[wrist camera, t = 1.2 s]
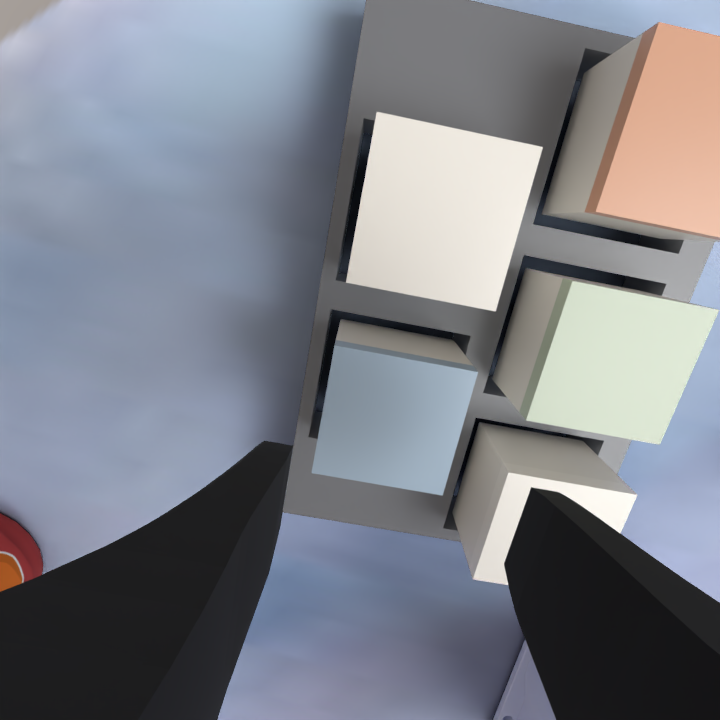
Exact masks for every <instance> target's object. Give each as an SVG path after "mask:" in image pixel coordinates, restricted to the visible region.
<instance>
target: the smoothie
mask: <svg viewBox="0 0 720 720" xmlns="http://www.w3.org/2000/svg"><path fill="white" fill-rule="evenodd" d="M42 571H43V561H42V557H41V553H40V550H39V548H38V546H37V545H36V543H35V542H34V540H33V538H32V537H31V535H30V534H29V533H28V532H27V531H25V530H24V529H23V528H22V527H21V526H20V525H19V524H18V523H17V522H15V521H14V520H12V519H10V518H8V517H6V516H4V515H3V514H1V513H0V592H1V591H3V590H6V589H8V588H11V587H13V586H16V585H18V584H21V583H24V582H26V581H29V580H31V579H33V578H36V577H38V576H41V575H42Z"/></svg>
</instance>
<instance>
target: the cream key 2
mask: <svg viewBox="0 0 720 720" xmlns="http://www.w3.org/2000/svg"><path fill="white" fill-rule="evenodd" d="M531 487H533V488H538V489H544V490H550V491H556V492H559V493H561V494H563V495H565V496H567V497H568V498H570V499H572V500H573V501H575V502H576V503H578V504H579V505H581V506H582V507H584V508H585V509H587V510H588V511H589V512H591V513H592V514H594V515H595V516H597V517H598V518H599V519H601V520H602V521H604V522H605V523H606V524H608V525H609V526H610V527H612V528H613V529H615V530H616V531H617V532H619V533H621V531H622V529H623V526H624V524H625V522H626V520H627V517H628V515H629V513H630V511H631V508H632V506H633V504H634V502H635V499H636V497H637V494H636V493H635V492H634V491H633V490H632V489H631V488H630V487H629V486H628V485H627V484H626V483H625V482H624V481H623V480H622V479H621V478H620V477H619V476H618V475H617V474H616V473H615V472H614V471H613V470H612V469H611V468H610V467H609V466H608V465H607V464H606V463H605V462H604V461H603V460H602V459H601V458H600V457H599V456H598V455H597V454H596V453H595V452H594V451H593V450H592V449H591V448H590V447H589V446H588V445H587V444H586V443H585V442H584V441H581V440H576V439H570V438H565V437H559V436H554V435H548V434H542V433H537V432H531V431H526V430H520V429H515V428H509V427H504V426H498V425H493V424H487V423H481V422H479V425H478V428H477V432H476V435H475V438H474V442H473V445H472V448H471V452H470V455H469V458H468V462H467V465H466V468H465V472H464V475H463V478H462V482H461V485H460V488H459V492H458V495H457V498H456V502H455V505H454V508H453V512H452V513H453V516H454V520H455V523H456V526H457V529H458V533H459V536H460V539H461V542H462V546H463V549H464V552H465V556H466V559H467V562H468V565H469V569H470V572H471V575H472V578H473V580H479V581H486V582H492V583H498V584H504V585H508V581H507V576H506V572H505V567H504V562H505V559H506V557H507V554H508V551H509V548H510V545H511V542H512V540H513V537H514V534H515V531H516V528H517V526H518V523H519V520H520V517H521V514H522V512H523V509H524V506H525V503H526V500H527V498H528V495H529V492H530V489H531Z"/></svg>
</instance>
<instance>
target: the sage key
mask: <svg viewBox="0 0 720 720" xmlns="http://www.w3.org/2000/svg"><path fill="white" fill-rule="evenodd" d="M718 312H719V310H717V309H713V308H709V307H705V306H701V305H697V304H693V303H688V302H684V301H680V300H676V299H672V298H668V297H664V296H660V295H656V294H652V293H648V292H644V291H640V290H635V289H630V288H624V287H619V286H614V285H609V284H604V283H599V282H594V281H589V280H584V279H579V278H574V277H569V276H564V275H559V274H554V273H549V272H544V271H539V270H534V269H529V268H525V271H524V275H523V278H522V281H521V285H520V288H519V291H518V295H517V298H516V301H515V305H514V308H513V311H512V315H511V318H510V321H509V325H508V328H507V331H506V335H505V338H504V341H503V345H502V348H501V351H500V355H499V358H498V361H497V365H496V368H495V371H494V375H493V378H492V380H493V381H494V382H495V383H496V385H497V386H498V387H499V388H500V389H501V391H502V392H503V393H504V394H505V396H506V397H507V398H508V399H509V400H510V402H511V403H512V404H513V405H514V406H515V408H516V409H517V410H518V411H519V413H520V414H521V415H522V416H523V417H524V419H525V420H526V421H532V422H537V423H543V424H548V425H554V426H559V427H565V428H570V429H576V430H581V431H587V432H592V433H598V434H604V435H609V436H615V437H620V438H626V439H631V440H637V441H642V442H648V443H653V444H659V445H660V443H661V440H662V438H663V436H664V434H665V431H666V429H667V427H668V425H669V422H670V420H671V418H672V416H673V413H674V411H675V409H676V407H677V404H678V402H679V400H680V397H681V395H682V393H683V391H684V388H685V386H686V384H687V382H688V379H689V377H690V375H691V373H692V370H693V368H694V366H695V364H696V361H697V359H698V357H699V355H700V352H701V350H702V348H703V345H704V343H705V341H706V339H707V336H708V334H709V332H710V330H711V327H712V325H713V323H714V321H715V318H716V316H717V314H718Z"/></svg>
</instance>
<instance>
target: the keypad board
mask: <svg viewBox="0 0 720 720" xmlns="http://www.w3.org/2000/svg"><path fill="white" fill-rule="evenodd" d="M633 39H635V38H632V37H628V36H623V35H619V34H615V33H610V32H606V31H602V30H597V29H593V28H588V27H584V26H580V25H575V24H571V23H567V22H562V21H558V20H554V19H549V18H545V17H540V16H536V15H532V14H527V13H523V12H519V11H514V10H510V9H505V8H501V7H497V6H492V5H488V4H484V3H479V2H475V1H470V0H366V4H365V11H364V17H363V23H362V29H361V35H360V41H359V47H358V54H357V60H356V66H355V72H354V78H353V84H352V90H351V96H350V103H349V109H348V115H347V121H346V127H345V133H344V139H343V145H342V152H341V158H340V164H339V170H338V176H337V182H336V188H335V195H334V201H333V207H332V213H331V219H330V225H329V231H328V237H327V244H326V250H325V256H324V262H323V268H322V274H321V280H320V286H319V293H318V299H317V305H316V311H315V317H314V323H313V329H312V335H311V342H310V348H309V354H308V360H307V366H306V372H305V378H304V385H303V391H302V397H301V403H300V409H299V415H298V421H297V427H296V434H295V440H294V446H293V452H292V458H291V464H290V470H289V476H288V483H287V489H286V495H285V501H284V507H283V512H284V513H290V514H296V515H302V516H308V517H314V518H320V519H326V520H332V521H338V522H344V523H350V524H356V525H362V526H369V527H375V528H381V529H387V530H393V531H399V532H405V533H411V534H417V535H423V536H429V537H435V538H441V539H447V540H453V541H459V542H461V539H460V536H459V533H458V529H457V526H456V523H455V520H454V516H453V513H452V512H453V508H454V505H455V502H456V498H457V497H453V493H454V490H455V486H456V483H457V480H458V476H459V473H460V470H461V466H462V463H463V459H464V456H465V453H466V449H467V446H468V442H469V439H470V436H471V432H472V429H473V426H474V422H475V419H476V418H481V419H486V420H492V421H497V422H503V423H508V424H514V425H520V426H525V427H531V428H536V429H542V430H547V431H553V432H558V433H564V434H568V435H567V437H566V438H570V439H576V440H581V441H584V442H585V443H586V444H587V445H588V446H589V447H590V448H591V449H592V450H593V451H594V452H595V453H596V454H597V455H598V456H599V457H600V458H601V459H602V460H603V461H604V462H605V463H606V464H607V465H608V466H609V467H610V468H611V469H612V470H613V471H614V472H615V473H616V474H618V471H619V469H620V466H621V464H622V462H623V459H624V457H625V455H626V452H627V450H628V447H629V445H630V443H631V439H626V438H620V437H615V436H609V435H604V434H598V433H592V432H587V431H581V430H576V429H570V428H565V427H559V426H554V425H548V424H543V423H537V422H532V421H526V420H525V419H524V417H523V416H522V415H521V414H520V413H519V411H518V410H517V409H516V408H515V406H514V405H513V404H512V403H511V402H510V400H509V399H508V398H507V397H506V396H505V394H504V393H503V392H502V391H501V389H500V388H499V387H498V386H497V385H496V383H495V382H494V381H493V380H492V378H493V376H488V375H489V371H490V368H491V365H492V361H493V358H494V355H495V351H496V348H497V344H498V341H499V338H500V334H501V331H502V328H503V324H504V321H505V317H506V314H507V311H508V307H509V304H510V301H511V297H512V294H513V290H514V287H515V284H516V280H517V277H518V273H519V270H520V267H521V263H522V260H523V257H524V255H525V256H530V257H535V258H540V259H545V260H550V261H555V262H560V263H565V264H570V265H575V266H580V267H585V268H590V269H595V270H600V271H605V272H610V273H615V274H620V275H625V276H626V277H625V280H624V283H623V285H622V287H624V288H630V289H635V290H640V291H644V292H648V293H652V294H656V295H660V296H664V297H668V298H672V299H676V300H680V301H684V302H688V303H689V302H690V299H691V297H692V295H693V292H694V290H695V288H696V285H697V283H698V280H699V278H700V276H701V273H702V271H703V268H704V266H705V264H706V261H707V259H708V257H709V254H710V252H711V249H712V247H713V245H714V242H712V241H694V240H675V239H659V238H654V237H650V236H645V235H641V237H640V239H639V242H638V245H632V244H627V243H622V242H618V241H613V240H608V239H603V238H598V237H593V236H588V235H583V234H578V233H574V232H569V231H564V230H559V229H554V228H549V227H544V226H539V225H534V224H533V223H534V219H535V216H536V213H537V209H538V206H539V203H540V199H541V196H542V192H543V189H544V186H545V182H546V179H547V175H548V172H549V169H550V165H551V162H552V159H553V155H554V152H555V148H556V145H557V142H558V138H559V135H560V132H561V128H562V125H563V121H564V118H565V115H566V111H567V108H568V104H569V101H570V98H571V94H572V91H573V88H574V84H575V81H576V80H579V81H582V78H583V74H584V73H585V72H586V71H588V70H589V69H591V68H592V67H594V66H595V65H597V64H598V63H599V62H601V61H602V60H604V59H605V58H607V57H608V56H610V55H611V54H613V53H614V52H616V51H617V50H619V49H620V48H622V47H623V46H625V45H626V44H627V43H629V42H630V41H632V40H633ZM377 112H381V113H386V114H390V115H395V116H400V117H404V118H409V119H414V120H418V121H423V122H428V123H432V124H437V125H442V126H446V127H451V128H456V129H460V130H465V131H470V132H475V133H479V134H484V135H489V136H493V137H498V138H503V139H507V140H512V141H517V142H521V143H526V144H531V145H535V146H540V147H543V149H542V152H541V156H540V159H539V163H538V166H537V170H536V173H535V176H534V180H533V183H532V187H531V190H530V194H529V197H528V201H527V204H526V208H525V211H524V215H523V218H522V222H521V225H520V229H519V232H518V236H517V239H516V242H515V246H514V249H513V253H512V256H511V260H510V263H509V267H508V270H507V274H506V277H505V281H504V284H503V288H502V291H501V295H500V298H499V302H498V305H497V308H496V311H490V310H485V309H480V308H475V307H470V306H465V305H459V304H454V303H449V302H444V301H439V300H434V299H428V298H423V297H418V296H413V295H408V294H403V293H397V292H392V291H387V290H382V289H377V288H372V287H366V286H361V285H356V284H351V283H346V279H347V274H343V273H339V271H340V265H341V260H342V254H343V248H344V243H345V237H346V231H347V225H348V220H349V214H350V208H351V203H352V197H353V191H354V185H355V180H356V174H357V168H358V163H359V157H360V151H361V145H362V140H363V134H369V135H373V129H374V124H375V118H376V113H377ZM333 310H338V311H343V312H348V313H354V314H359V315H364V316H369V317H375V318H380V319H385V320H390V321H396V322H401V323H406V324H411V325H417V326H422V327H427V328H433V329H438V330H443V331H448V332H454V335H453V338H452V340H454V341H455V343H456V344H457V345H458V346H459V348H460V349H461V350H462V352H463V353H464V354H465V356H466V357H467V358H468V360H469V361H470V362H471V363H472V365H473V366H474V367H475V369H476V370H477V371H478V375H477V378H476V381H475V385H474V388H473V392H472V395H471V399H470V402H469V406H468V409H467V413H466V416H465V420H464V423H463V427H462V430H461V434H460V437H459V441H458V444H457V447H456V451H455V454H454V458H453V461H452V465H451V468H450V472H449V475H448V479H447V482H446V486H445V489H444V493H443V496H442V495H437V494H431V493H425V492H419V491H413V490H407V489H402V488H396V487H390V486H384V485H378V484H372V483H367V482H361V481H355V480H349V479H343V478H337V477H331V476H326V475H320V474H314V473H312V467H313V462H314V456H315V451H316V445H317V440H318V434H319V428H320V423H321V417H322V412H316V411H315V408H316V403H317V397H318V391H319V386H320V380H321V374H322V368H323V363H324V357H325V351H326V346H327V340H328V334H329V328H330V323H331V317H332V311H333Z"/></svg>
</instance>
